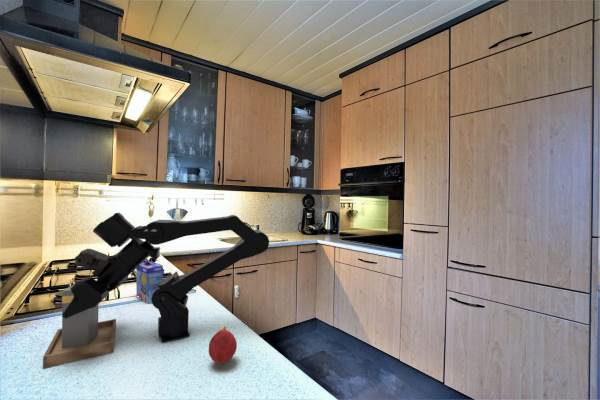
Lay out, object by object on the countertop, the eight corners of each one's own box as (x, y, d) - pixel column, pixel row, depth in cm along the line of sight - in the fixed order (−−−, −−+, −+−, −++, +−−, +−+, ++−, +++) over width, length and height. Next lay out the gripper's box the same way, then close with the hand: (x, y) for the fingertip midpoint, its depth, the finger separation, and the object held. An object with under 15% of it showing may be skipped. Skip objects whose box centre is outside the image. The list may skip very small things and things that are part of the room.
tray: (116, 327, 75) (116, 318, 75) (113, 352, 63) (113, 341, 63) (57, 339, 69) (58, 329, 69) (42, 368, 57) (43, 357, 57)
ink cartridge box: (134, 297, 98) (135, 256, 98) (151, 293, 102) (151, 254, 102) (146, 304, 92) (147, 260, 92) (163, 300, 96) (164, 258, 96)
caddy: (98, 334, 69) (99, 282, 69) (87, 345, 64) (88, 289, 64) (74, 336, 68) (74, 283, 68) (61, 348, 63) (62, 291, 63)
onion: (237, 370, 57) (237, 331, 57) (207, 374, 56) (208, 334, 56) (235, 354, 63) (236, 319, 63) (208, 358, 61) (209, 322, 61)
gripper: (115, 233, 76) (67, 275, 73) (82, 243, 58) (16, 301, 55) (147, 260, 78) (101, 303, 75) (124, 278, 60) (63, 335, 57)
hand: (74, 309), depth 66 cm, fingers open, 9 cm apart
